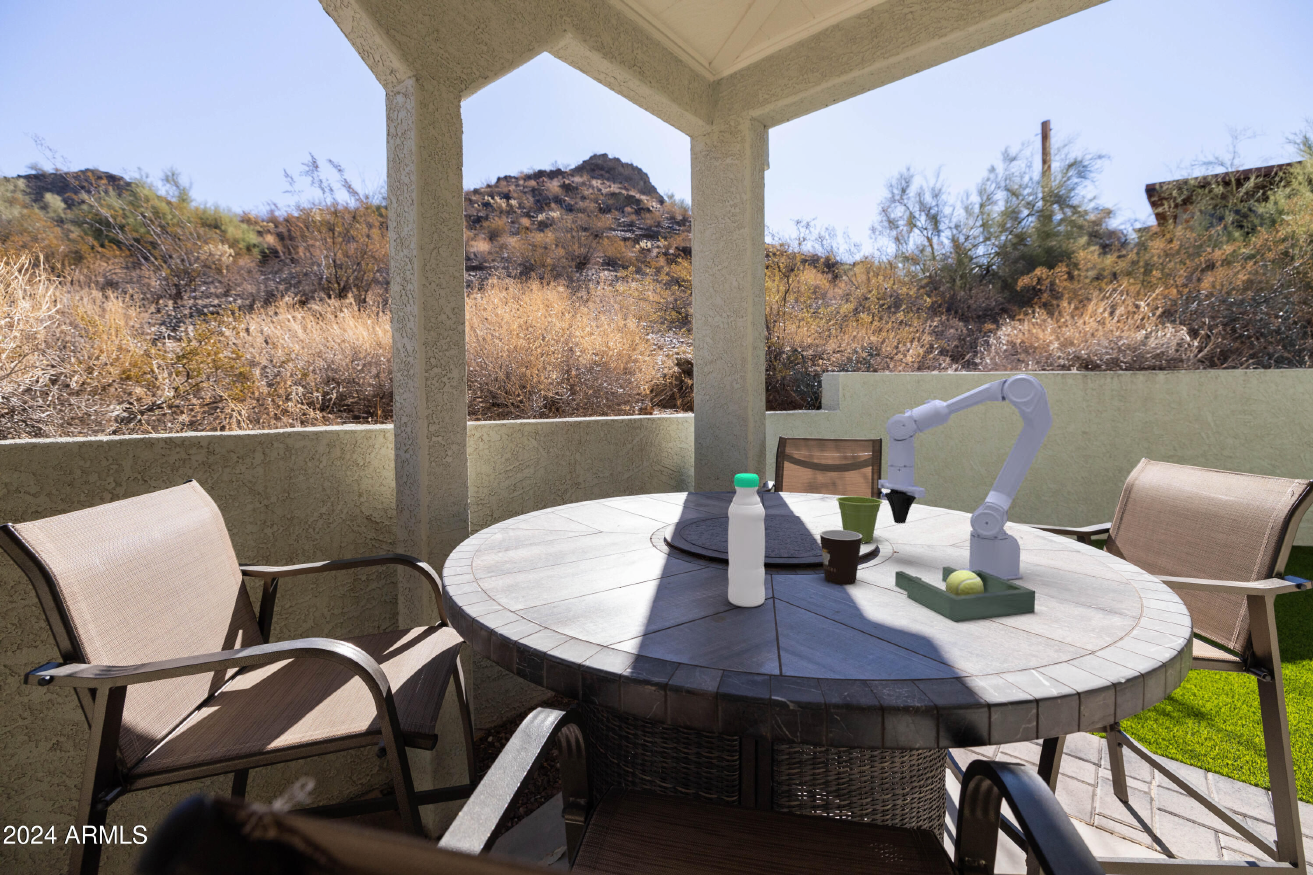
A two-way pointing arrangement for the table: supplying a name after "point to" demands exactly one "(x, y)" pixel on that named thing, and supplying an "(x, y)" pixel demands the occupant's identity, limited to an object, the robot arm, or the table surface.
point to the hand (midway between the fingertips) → (899, 522)
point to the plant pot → (859, 515)
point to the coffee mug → (840, 555)
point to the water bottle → (746, 544)
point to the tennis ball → (964, 583)
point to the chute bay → (970, 597)
